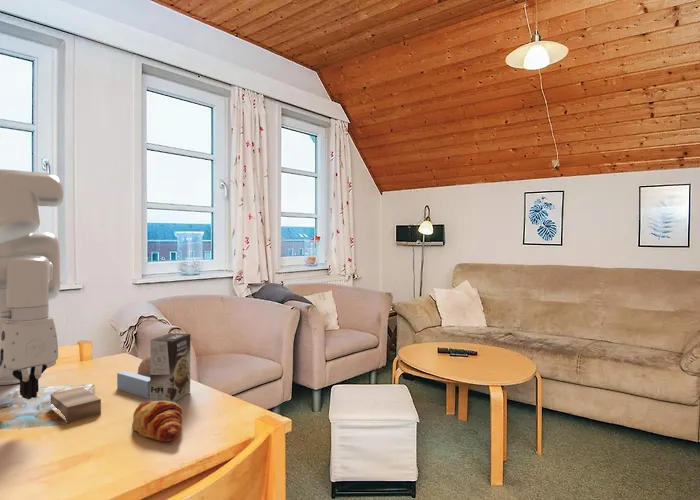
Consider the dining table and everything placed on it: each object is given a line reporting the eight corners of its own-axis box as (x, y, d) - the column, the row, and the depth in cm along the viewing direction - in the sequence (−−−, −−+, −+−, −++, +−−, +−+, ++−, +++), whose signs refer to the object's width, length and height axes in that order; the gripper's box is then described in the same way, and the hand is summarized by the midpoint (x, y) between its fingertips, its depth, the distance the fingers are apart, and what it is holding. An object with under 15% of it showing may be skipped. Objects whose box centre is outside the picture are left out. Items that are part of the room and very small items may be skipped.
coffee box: (171, 404, 116) (172, 341, 115) (149, 402, 117) (149, 339, 116) (191, 392, 125) (191, 333, 124) (170, 390, 126) (170, 332, 125)
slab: (50, 410, 112) (50, 394, 112) (82, 402, 117) (82, 387, 117) (67, 424, 104) (67, 407, 104) (100, 415, 109) (100, 399, 109)
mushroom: (164, 385, 130) (164, 357, 129) (140, 389, 126) (140, 360, 126) (159, 378, 136) (159, 351, 136) (136, 381, 133) (136, 354, 132)
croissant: (130, 431, 108) (113, 405, 106) (168, 403, 114) (153, 377, 111) (162, 465, 92) (142, 435, 90) (204, 430, 98) (187, 401, 95)
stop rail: (117, 388, 126) (117, 372, 126) (125, 386, 129) (125, 370, 128) (147, 398, 120) (147, 381, 120) (155, 395, 122) (155, 379, 122)
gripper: (-4, 320, 92) (-3, 411, 93) (72, 310, 105) (73, 390, 106) (-21, 317, 96) (-20, 404, 97) (55, 308, 109) (56, 385, 109)
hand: (29, 397), depth 101 cm, fingers closed
